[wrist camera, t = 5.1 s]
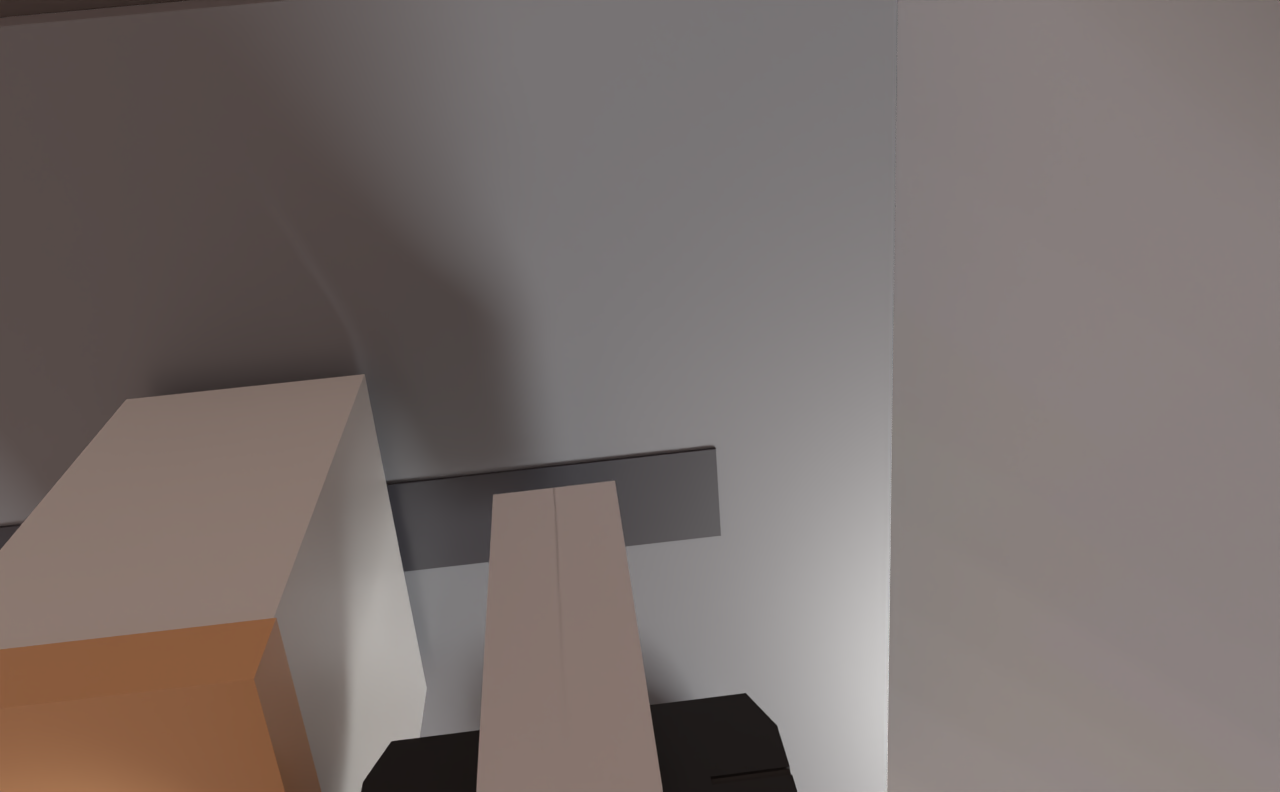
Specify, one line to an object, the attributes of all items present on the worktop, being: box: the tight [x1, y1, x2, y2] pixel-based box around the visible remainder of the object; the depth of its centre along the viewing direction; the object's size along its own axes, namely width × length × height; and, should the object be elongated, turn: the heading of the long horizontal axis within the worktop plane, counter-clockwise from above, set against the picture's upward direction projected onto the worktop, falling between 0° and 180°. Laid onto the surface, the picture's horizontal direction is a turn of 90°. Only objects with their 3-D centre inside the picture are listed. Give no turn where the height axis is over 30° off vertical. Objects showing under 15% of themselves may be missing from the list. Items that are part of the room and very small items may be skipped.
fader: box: [0, 374, 427, 792], centre depth 12 cm, size 3×5×6 cm, turn 5°
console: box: [0, 0, 898, 792], centre depth 15 cm, size 24×14×4 cm, turn 95°
